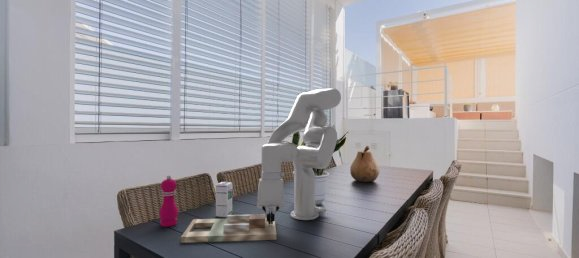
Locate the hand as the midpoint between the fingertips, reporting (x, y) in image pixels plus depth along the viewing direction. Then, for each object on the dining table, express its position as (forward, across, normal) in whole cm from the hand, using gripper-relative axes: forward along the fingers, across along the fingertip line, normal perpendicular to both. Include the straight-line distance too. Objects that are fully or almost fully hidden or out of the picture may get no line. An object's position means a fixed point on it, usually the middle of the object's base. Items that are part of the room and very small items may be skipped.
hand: (270, 223), depth 109 cm
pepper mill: (+3, +41, -11) cm, 42 cm away
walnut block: (+1, +5, 0) cm, 5 cm away
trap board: (+3, +14, 0) cm, 14 cm away
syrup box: (+3, +20, -20) cm, 29 cm away
